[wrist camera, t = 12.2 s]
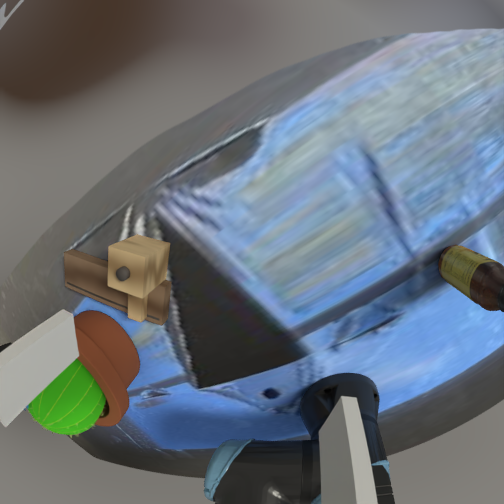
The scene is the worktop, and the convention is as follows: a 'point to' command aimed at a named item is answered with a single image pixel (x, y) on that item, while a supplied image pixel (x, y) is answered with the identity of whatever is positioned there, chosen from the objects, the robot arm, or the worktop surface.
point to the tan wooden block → (137, 270)
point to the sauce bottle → (474, 276)
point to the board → (96, 287)
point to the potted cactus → (90, 379)
